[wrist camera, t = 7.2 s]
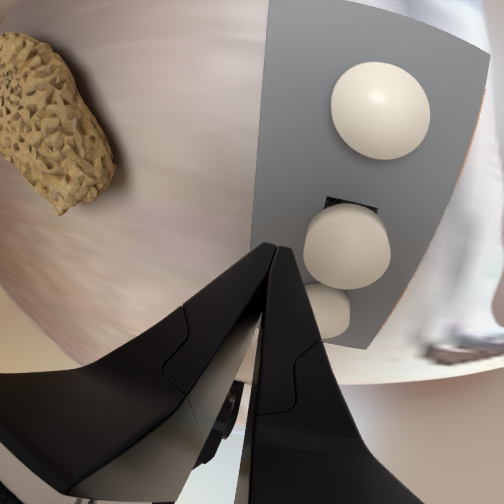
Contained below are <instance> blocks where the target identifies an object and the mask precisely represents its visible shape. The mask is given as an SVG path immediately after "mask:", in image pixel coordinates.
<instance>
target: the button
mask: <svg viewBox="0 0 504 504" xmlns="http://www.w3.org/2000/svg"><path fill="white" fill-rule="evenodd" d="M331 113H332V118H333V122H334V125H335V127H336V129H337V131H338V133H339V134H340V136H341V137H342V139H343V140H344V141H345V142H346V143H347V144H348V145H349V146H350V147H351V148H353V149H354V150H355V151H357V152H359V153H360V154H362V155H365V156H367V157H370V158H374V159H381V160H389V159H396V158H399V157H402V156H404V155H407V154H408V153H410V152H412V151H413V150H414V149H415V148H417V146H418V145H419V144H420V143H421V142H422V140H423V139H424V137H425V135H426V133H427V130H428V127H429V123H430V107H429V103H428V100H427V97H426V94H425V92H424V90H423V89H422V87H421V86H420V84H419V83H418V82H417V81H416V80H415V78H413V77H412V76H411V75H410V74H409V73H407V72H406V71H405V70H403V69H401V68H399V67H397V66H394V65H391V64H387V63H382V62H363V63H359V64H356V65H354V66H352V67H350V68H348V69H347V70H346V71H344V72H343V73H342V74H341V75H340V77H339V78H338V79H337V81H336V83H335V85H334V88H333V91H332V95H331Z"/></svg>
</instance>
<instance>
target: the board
mask: <svg viewBox="0 0 504 504" xmlns="http://www.w3.org/2000/svg"><path fill="white" fill-rule="evenodd" d="M489 61H490V54H488V53H486V52H485V51H483V50H481V49H479V48H477V47H476V46H474V45H472V44H470V43H468V42H466V41H464V40H462V39H460V38H458V37H456V36H453V35H451V34H449V33H447V32H445V31H442V30H440V29H438V28H435V27H433V26H430V25H428V24H425V23H423V22H420V21H417V20H414V19H412V18H409V17H406V16H403V15H400V14H396V13H393V12H390V11H386V10H383V9H379V8H376V7H372V6H368V5H364V4H359V3H355V2H350V1H345V0H269V6H268V19H267V32H266V45H265V57H264V70H263V83H262V97H261V110H260V123H259V136H258V149H257V163H256V176H255V189H254V203H253V216H252V230H251V244H250V251H252V250H253V249H254V248H256V247H257V246H258V245H259V244H261V243H262V242H267V243H272V244H275V245H276V246H279V245H281V246H285V247H290V248H292V250H293V253H294V256H295V258H296V261H297V264H298V267H299V270H300V273H301V276H302V279H303V282H304V285H308V284H314V283H321V282H319V281H318V280H316V279H315V278H314V277H313V276H312V275H311V274H310V273H309V271H308V270H307V268H306V266H305V263H304V258H303V252H304V246H305V240H306V234H307V230H308V227H309V224H310V222H311V221H312V220H313V218H314V217H315V216H316V215H317V214H318V213H319V212H321V211H322V210H324V206H325V202H326V197H327V196H329V197H333V198H338V199H342V200H347V201H351V202H355V203H359V204H363V205H367V206H366V208H368V209H370V210H371V211H373V212H374V213H375V214H377V215H378V216H379V217H380V219H381V220H382V221H383V223H384V225H385V228H386V231H387V236H388V241H389V246H390V252H391V257H390V263H389V265H388V268H387V269H386V271H385V272H384V274H383V275H382V276H381V277H380V278H379V279H378V280H376V281H375V282H373V283H372V284H370V285H367V286H365V287H362V288H357V289H341V290H342V291H343V292H344V293H345V294H346V295H347V296H348V298H349V300H350V322H349V326H348V328H347V329H346V330H345V331H344V332H343V333H342V334H340V335H338V336H335V337H332V338H326V339H321V340H322V341H323V342H325V343H330V344H335V345H341V346H346V347H352V348H358V349H364V350H366V349H367V347H368V346H369V344H370V343H371V342H372V340H373V339H374V337H375V336H376V335H377V334H378V333H379V331H380V330H381V328H382V327H383V325H384V324H385V322H386V321H387V319H388V318H389V316H390V315H391V313H392V312H393V310H394V308H395V307H396V305H397V304H398V302H399V300H400V299H401V297H402V295H403V294H404V292H405V290H406V289H407V285H408V283H409V282H410V280H411V278H412V277H414V275H415V273H416V271H417V269H418V268H419V266H420V264H421V262H422V260H423V258H424V256H425V254H426V253H427V251H428V249H429V247H430V245H431V243H432V241H433V239H434V237H435V235H436V232H437V230H438V228H439V226H440V224H441V222H442V220H443V217H444V215H445V213H446V211H447V208H448V206H449V204H450V198H451V196H452V194H453V191H454V189H455V187H457V184H458V181H459V179H460V176H461V173H462V171H463V168H464V165H465V162H466V159H467V156H468V153H469V150H470V147H471V144H472V141H473V138H474V134H475V131H476V127H477V124H478V120H479V116H480V112H481V108H482V104H483V100H484V95H485V91H486V89H485V84H486V79H487V74H488V68H489ZM363 62H382V63H387V64H391V65H394V66H397V67H399V68H401V69H403V70H405V71H406V72H407V73H409V74H410V75H411V76H412V77H413V78H415V80H416V81H417V82H418V83H419V84H420V86H421V87H422V89H423V90H424V92H425V94H426V97H427V100H428V103H429V107H430V123H429V127H428V130H427V133H426V135H425V137H424V139H423V140H422V142H421V143H420V144H419V145H418V146H417V148H415V149H414V150H413V151H412V152H410V153H408V154H407V155H404V156H402V157H399V158H396V159H389V160H381V159H374V158H370V157H367V156H365V155H362V154H360V153H359V152H357V151H355V150H354V149H353V148H351V147H350V146H349V145H348V144H347V143H346V142H345V141H344V140H343V139H342V137H341V136H340V134H339V133H338V131H337V129H336V127H335V125H334V122H333V118H332V113H331V95H332V91H333V88H334V85H335V83H336V81H337V79H338V78H339V77H340V75H341V74H342V73H343V72H344V71H346V70H347V69H348V68H350V67H352V66H354V65H356V64H359V63H363ZM261 315H262V314H261ZM260 321H261V317H260V320H259V322H258V325H257V327H256V328H259V327H260Z"/></svg>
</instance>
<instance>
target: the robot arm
mask: <svg viewBox="0 0 504 504" xmlns="http://www.w3.org/2000/svg"><path fill="white" fill-rule="evenodd" d="M261 314H262V315H261ZM260 317H261V321H260V327H259V335H258V343H257V350H256V358H255V365H254V373H253V380H252V387H251V394H250V401H249V408H248V415H247V422H246V429H245V436H244V443H243V449H242V456H241V462H240V469H239V475H238V482H237V488H236V494H235V500H234V504H424V503H423V502H422V501H421V500H420V499H419V498H418V497H417V496H415V495H414V494H413V493H412V492H411V491H410V490H409V489H407V487H405V486H404V485H403V484H402V483H401V482H400V481H399V480H398V479H397V478H396V477H395V476H394V475H393V474H392V473H390V472H389V471H388V470H387V469H386V468H385V467H384V466H383V465H382V464H381V463H380V462H379V461H378V460H377V459H376V458H375V457H374V456H373V455H372V453H371V452H370V451H369V449H368V448H367V446H366V445H365V443H364V441H363V439H362V437H361V435H360V433H359V431H358V428H357V426H356V424H355V422H354V419H353V417H352V415H351V413H350V410H349V408H348V406H347V404H346V401H345V399H344V397H343V395H342V392H341V390H340V388H339V385H338V383H337V381H336V378H335V376H334V373H333V371H332V368H331V365H330V362H329V359H328V356H327V353H326V350H325V347H324V344H323V341H322V340H321V339H322V338H321V334H320V331H319V328H318V325H317V322H316V319H315V316H314V312H313V309H312V306H311V303H310V300H309V297H308V294H307V291H306V288H305V285H304V282H303V279H302V276H301V273H300V270H299V267H298V264H297V261H296V258H295V256H294V253H293V250H292V248H290V247H285V246H281V245H279V246H276V245H275V244H272V243H267V242H262V243H261V244H259V245H258V246H257V247H256V248H254V249H253V250H252V251H250V252H249V253H248V254H247V255H245V256H244V257H243V258H241V259H240V260H239V261H238V262H236V263H235V264H234V265H232V266H231V267H230V268H229V269H227V270H226V271H225V272H223V273H222V274H221V275H220V276H218V277H217V278H216V279H214V280H213V281H212V282H211V283H209V284H208V285H207V286H205V287H204V288H203V289H202V290H200V291H199V292H198V293H196V294H195V295H194V296H193V297H191V298H190V299H189V300H188V301H186V302H185V303H184V304H183V306H180V307H178V308H177V309H176V310H174V311H173V312H172V313H171V314H169V315H168V316H167V317H165V318H164V319H162V320H161V321H160V322H158V323H157V324H156V325H154V326H153V327H151V328H149V329H148V330H146V331H145V332H143V333H142V334H140V335H139V336H137V337H135V338H134V339H132V340H130V341H129V342H127V343H125V344H124V345H122V346H120V347H119V348H117V349H115V350H114V351H112V352H110V353H109V354H107V355H105V356H104V357H102V358H100V359H99V360H97V361H95V362H93V363H91V364H88V365H86V366H83V367H80V368H76V369H70V370H60V371H48V372H31V373H4V374H3V373H0V504H174V503H175V501H176V500H177V499H178V497H179V495H180V493H181V491H182V488H183V487H184V485H185V483H186V481H187V479H188V477H189V475H190V473H191V471H192V470H193V469H195V468H196V467H198V466H199V465H201V464H202V463H203V464H206V463H207V462H208V461H210V460H211V459H212V458H213V457H214V456H215V453H216V451H217V449H218V447H219V444H220V442H221V440H222V439H227V438H228V436H229V435H230V433H231V431H232V429H233V427H234V425H235V422H236V419H237V416H238V411H239V407H240V402H241V397H242V392H243V388H244V382H242V381H237V380H234V378H235V376H236V374H237V371H238V369H239V367H240V365H241V362H242V360H243V358H244V355H245V353H246V351H247V348H248V346H249V344H250V341H251V339H252V337H253V334H254V332H255V330H256V327H257V325H258V322H259V320H260Z"/></svg>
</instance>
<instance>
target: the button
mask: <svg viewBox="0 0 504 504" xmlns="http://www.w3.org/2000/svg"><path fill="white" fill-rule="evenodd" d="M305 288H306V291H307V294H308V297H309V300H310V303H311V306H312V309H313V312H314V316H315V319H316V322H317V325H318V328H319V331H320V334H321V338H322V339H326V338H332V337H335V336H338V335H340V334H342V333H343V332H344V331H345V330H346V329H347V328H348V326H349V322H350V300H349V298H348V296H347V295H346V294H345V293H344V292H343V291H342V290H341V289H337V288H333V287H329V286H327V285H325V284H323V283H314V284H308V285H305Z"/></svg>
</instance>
